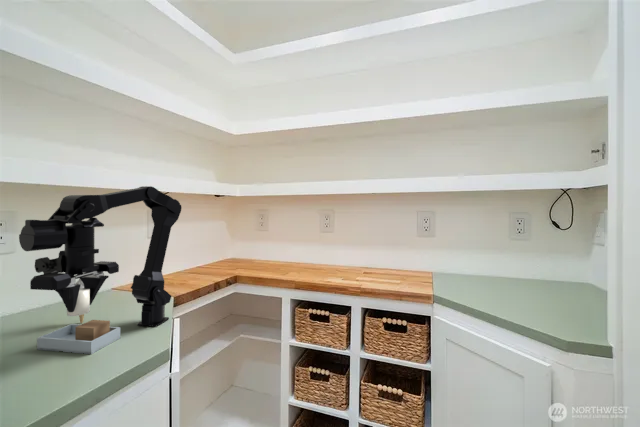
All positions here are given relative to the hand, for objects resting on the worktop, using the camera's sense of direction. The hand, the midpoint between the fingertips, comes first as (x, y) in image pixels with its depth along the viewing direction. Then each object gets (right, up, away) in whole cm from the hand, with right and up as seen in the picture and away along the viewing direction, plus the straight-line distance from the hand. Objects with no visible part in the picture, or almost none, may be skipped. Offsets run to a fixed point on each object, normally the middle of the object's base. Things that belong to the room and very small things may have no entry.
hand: (79, 308), depth 73 cm
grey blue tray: (-3, -11, +4) cm, 12 cm away
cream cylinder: (0, -1, 0) cm, 1 cm away
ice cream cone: (-14, -11, +18) cm, 25 cm away
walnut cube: (0, -10, +4) cm, 11 cm away
